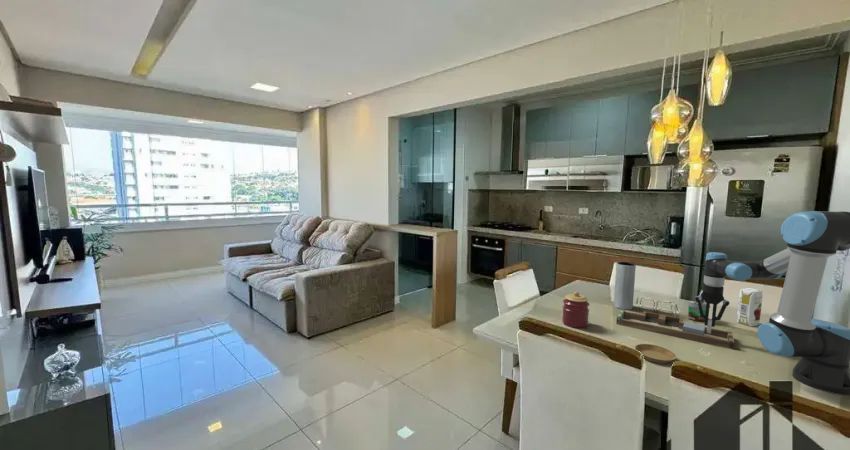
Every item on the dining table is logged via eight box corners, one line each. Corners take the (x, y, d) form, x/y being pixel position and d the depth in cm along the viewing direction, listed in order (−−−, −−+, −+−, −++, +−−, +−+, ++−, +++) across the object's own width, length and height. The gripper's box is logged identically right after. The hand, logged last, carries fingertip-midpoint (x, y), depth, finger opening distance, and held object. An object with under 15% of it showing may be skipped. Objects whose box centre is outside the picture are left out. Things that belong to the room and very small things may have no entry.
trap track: (733, 349, 155) (734, 340, 154) (616, 323, 184) (616, 316, 183) (729, 333, 173) (730, 325, 172) (623, 312, 201) (623, 305, 201)
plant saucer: (677, 356, 148) (678, 351, 148) (673, 370, 138) (673, 363, 137) (638, 346, 158) (638, 340, 158) (631, 357, 147) (631, 352, 147)
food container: (697, 323, 184) (699, 305, 183) (686, 319, 190) (687, 302, 189) (714, 321, 188) (716, 303, 187) (702, 317, 194) (704, 300, 192)
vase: (610, 305, 213) (612, 262, 210) (622, 303, 216) (625, 261, 213) (623, 310, 204) (626, 265, 201) (636, 308, 207) (639, 264, 204)
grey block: (702, 340, 164) (703, 330, 164) (682, 335, 170) (682, 326, 169) (704, 335, 170) (705, 326, 169) (684, 331, 175) (685, 321, 175)
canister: (593, 326, 180) (595, 293, 178) (575, 330, 176) (576, 296, 174) (574, 317, 192) (576, 287, 190) (556, 321, 188) (558, 289, 186)
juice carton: (734, 322, 187) (737, 288, 185) (744, 320, 190) (747, 286, 188) (751, 327, 180) (755, 292, 178) (761, 325, 183) (765, 290, 181)
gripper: (731, 285, 162) (726, 333, 165) (696, 280, 170) (691, 326, 173) (732, 289, 156) (727, 338, 159) (696, 284, 164) (691, 331, 167)
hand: (708, 332), depth 166 cm, fingers closed
